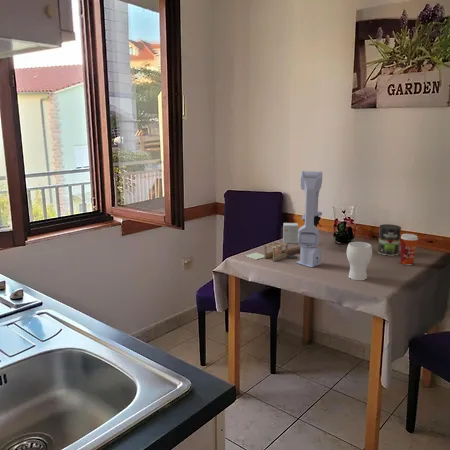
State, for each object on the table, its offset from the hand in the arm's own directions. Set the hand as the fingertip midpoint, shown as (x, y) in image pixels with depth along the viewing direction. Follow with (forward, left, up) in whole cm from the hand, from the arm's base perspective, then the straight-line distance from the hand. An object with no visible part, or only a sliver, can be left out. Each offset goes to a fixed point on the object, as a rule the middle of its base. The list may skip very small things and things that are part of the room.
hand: (311, 230), depth 243 cm
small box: (+14, +1, -10) cm, 17 cm away
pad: (+8, +34, -9) cm, 36 cm away
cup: (-43, +22, -10) cm, 49 cm away
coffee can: (-33, -21, -10) cm, 41 cm away
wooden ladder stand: (0, +28, -9) cm, 29 cm away
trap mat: (-5, +21, -9) cm, 23 cm away
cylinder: (0, +26, -9) cm, 28 cm away
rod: (0, +14, -10) cm, 17 cm away
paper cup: (-48, -12, -10) cm, 51 cm away
